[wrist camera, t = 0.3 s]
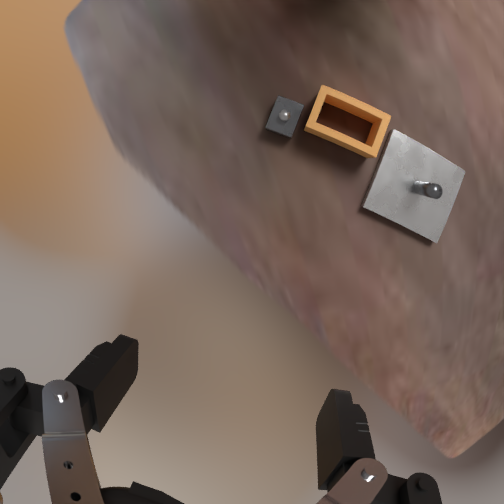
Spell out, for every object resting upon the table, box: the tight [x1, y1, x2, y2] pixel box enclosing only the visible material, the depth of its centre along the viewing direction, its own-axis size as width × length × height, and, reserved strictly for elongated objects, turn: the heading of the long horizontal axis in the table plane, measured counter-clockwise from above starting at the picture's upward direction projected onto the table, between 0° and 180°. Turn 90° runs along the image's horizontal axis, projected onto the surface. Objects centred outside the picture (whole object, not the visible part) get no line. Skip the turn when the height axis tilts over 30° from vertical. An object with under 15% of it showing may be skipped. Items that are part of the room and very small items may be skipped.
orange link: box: [304, 85, 391, 158], centre depth 31 cm, size 5×8×4 cm, turn 68°
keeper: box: [361, 129, 465, 243], centre depth 31 cm, size 10×11×6 cm
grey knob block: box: [265, 95, 304, 139], centre depth 33 cm, size 4×3×3 cm
